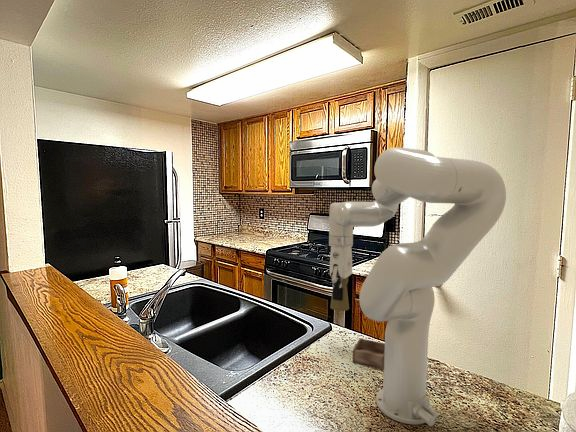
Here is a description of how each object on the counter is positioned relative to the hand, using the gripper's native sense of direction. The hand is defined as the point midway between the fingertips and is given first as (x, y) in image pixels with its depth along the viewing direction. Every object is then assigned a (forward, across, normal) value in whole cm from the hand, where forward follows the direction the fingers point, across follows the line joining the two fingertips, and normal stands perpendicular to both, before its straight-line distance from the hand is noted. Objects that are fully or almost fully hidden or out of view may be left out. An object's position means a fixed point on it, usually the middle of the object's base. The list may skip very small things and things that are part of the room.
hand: (339, 297), depth 99 cm
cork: (+4, 0, 0) cm, 4 cm away
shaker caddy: (+18, +1, -10) cm, 21 cm away
